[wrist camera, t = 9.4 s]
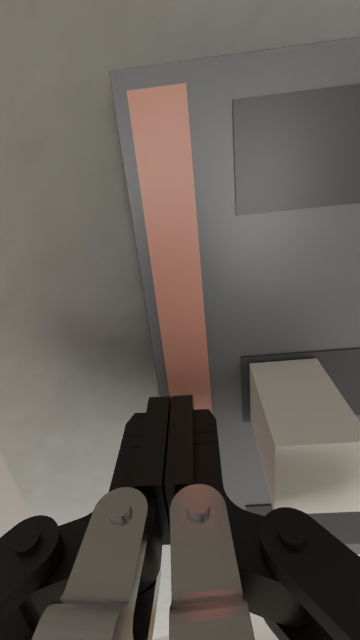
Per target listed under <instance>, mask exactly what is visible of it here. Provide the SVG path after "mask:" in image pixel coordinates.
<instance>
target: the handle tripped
mask: <svg viewBox="0 0 360 640" xmlns="http://www.w3.org/2000/svg"><path fill="white" fill-rule="evenodd" d="M249 369H250V417H251V423H252V427H253V432H254V436H255V440H256V444H257V448H258V452H259V456H260V460H261V464H262V468H263V472H264V476H265V480H266V485H267V489H268V493H269V497H270V501H271V505H272V509H273V510H274V509H277V508H281V507H290V508H295V509H298V510H300V511H302V512H304V513H306V514H314V513H337V512H360V421H359V420H358V418H357V417H356V415H355V414H354V412H353V411H352V409H351V408H350V407H349V405H348V404H347V402H346V401H345V399H344V398H343V396H342V395H341V393H340V392H339V390H338V389H337V387H336V386H335V384H334V383H333V382H332V380H331V379H330V377H329V376H328V374H327V373H326V371H325V370H324V368H323V367H322V365H321V364H320V362H319V361H318V359H317V358H315V359H301V360H288V361H274V362H260V363H249Z"/></svg>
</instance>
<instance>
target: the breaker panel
mask: <svg viewBox="0 0 360 640" xmlns="http://www.w3.org/2000/svg"><path fill="white" fill-rule="evenodd" d="M109 74H110V81H111V87H112V93H113V100H114V106H115V113H116V119H117V125H118V132H119V138H120V145H121V151H122V157H123V164H124V170H125V177H126V183H127V189H128V196H129V202H130V209H131V215H132V221H133V228H134V234H135V241H136V247H137V253H138V260H139V266H140V273H141V279H142V285H143V292H144V298H145V305H146V311H147V317H148V324H149V330H150V337H151V343H152V349H153V356H154V362H155V369H156V375H157V381H158V388H159V394H160V397H163V396H171V398H172V396H178V395H193V401H194V410H198V409H209V410H210V411H211V413H212V414H213V415H214V417H215V418H216V422H217V432H218V441H219V451H220V460H221V470H222V479H223V486H224V490H225V493H226V494H227V496H228V497H229V499H230V500H231V501H232V502H233V503H234V504H235V505H237V506H238V507H240V508H241V509H243V510H246V511H249V512H252V513H255V514H259V515H262V516H266V515H267V513H269V512H270V511H272V510H273V509H272V505H271V501H270V497H269V493H268V489H267V485H266V480H265V476H264V472H263V468H262V464H261V460H260V456H259V452H258V448H257V444H256V440H255V436H254V432H253V427H252V423H251V417H250V369H249V363H260V362H274V361H288V360H301V359H315V358H317V359H318V361H319V362H320V364H321V365H322V367H323V368H324V370H325V371H326V373H327V374H328V376H329V377H330V379H331V380H332V382H333V383H334V384H335V386H336V387H337V389H338V390H339V392H340V393H341V395H342V396H343V398H344V399H345V401H346V402H347V404H348V405H349V407H350V408H351V409H352V411H353V412H354V414H355V415H356V417H357V418H358V420H359V421H360V37H356V38H349V39H341V40H334V41H327V42H319V43H312V44H304V45H297V46H290V47H282V48H275V49H267V50H260V51H253V52H245V53H238V54H231V55H223V56H216V57H208V58H201V59H194V60H186V61H179V62H171V63H164V64H157V65H149V66H142V67H135V68H127V69H120V70H112V71H109ZM308 515H309V516H310V517H312V518H313V519H314V520H315V521H317V522H318V523H319V524H320V525H321V526H323V527H324V528H325V529H326V530H328V531H329V532H330V533H331V534H332V535H334V536H335V537H336V538H337V539H339V540H340V541H341V542H342V543H343V544H345V545H346V546H347V547H348V548H350V549H351V550H352V551H353V552H355V553H356V554H360V512H337V513H314V514H308Z"/></svg>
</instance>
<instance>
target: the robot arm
mask: <svg viewBox="0 0 360 640" xmlns="http://www.w3.org/2000/svg"><path fill="white" fill-rule="evenodd" d="M168 544H171V589H172V601H171V606H170V612H169V640H255V638H254V633H253V628H252V623H251V618H250V613H249V612H251V613H253V614H256V615H258V616H261V617H263V618H264V620H265V622H266V623H267V625H268V626H269V628H270V629H271V630H272V631H273V633H274V634H275V635H276V636H277V637H278V639H279V640H360V557H359V556H358V555H357V554H356V553H355V552H353V551H352V550H351V549H350V548H348V547H347V546H346V545H345V544H343V543H342V542H341V541H340V540H339V539H337V538H336V537H335V536H334V535H332V534H331V533H330V532H329V531H328V530H326V529H325V528H324V527H323V526H321V525H320V524H319V523H318V522H317V521H315V520H314V519H313V518H312V517H310V516H309V515H308V514H306V513H304V512H302V511H300V510H298V509H295V508H290V507H281V508H277V509H274V510H272V511H270V512H269V513H267V515H266V516H262V515H259V514H255V513H252V512H249V511H246V510H243V509H241V508H240V507H238V506H237V505H235V504H234V503H233V502H232V501H231V500H230V499H229V497H228V496H227V494H226V493H225V490H224V486H223V479H222V470H221V460H220V451H219V441H218V432H217V422H216V418H215V417H214V415H213V414H212V413H211V411H210V410H209V409H198V410H194V401H193V395H178V396H172V398H171V396H163V397H150V398H149V401H148V406H147V412H146V413H135V414H134V415H133V416H132V417H131V419H130V420H129V421H128V422H127V424H126V426H125V430H124V434H123V439H122V442H121V446H120V450H119V454H118V458H117V462H116V466H115V470H114V474H113V478H112V482H111V486H110V490H109V492H108V493H107V494H106V495H104V496H103V497H102V498H101V499H100V500H99V501H98V503H97V504H96V506H95V508H94V510H93V512H92V513H90V514H89V515H87V516H85V517H83V518H80V519H77V520H75V521H72V522H69V523H66V524H63V525H60V526H58V525H57V523H56V522H55V520H53V519H52V518H50V517H48V516H41V515H39V516H34V517H30V518H28V519H26V520H23V521H22V522H20V523H18V524H17V525H16V526H14V527H13V528H12V529H11V530H10V531H8V532H7V533H6V534H5V535H3V536H2V537H1V538H0V640H152V637H153V630H154V622H155V615H156V608H157V601H158V593H159V586H160V579H161V570H160V566H161V554H162V545H168Z"/></svg>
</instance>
